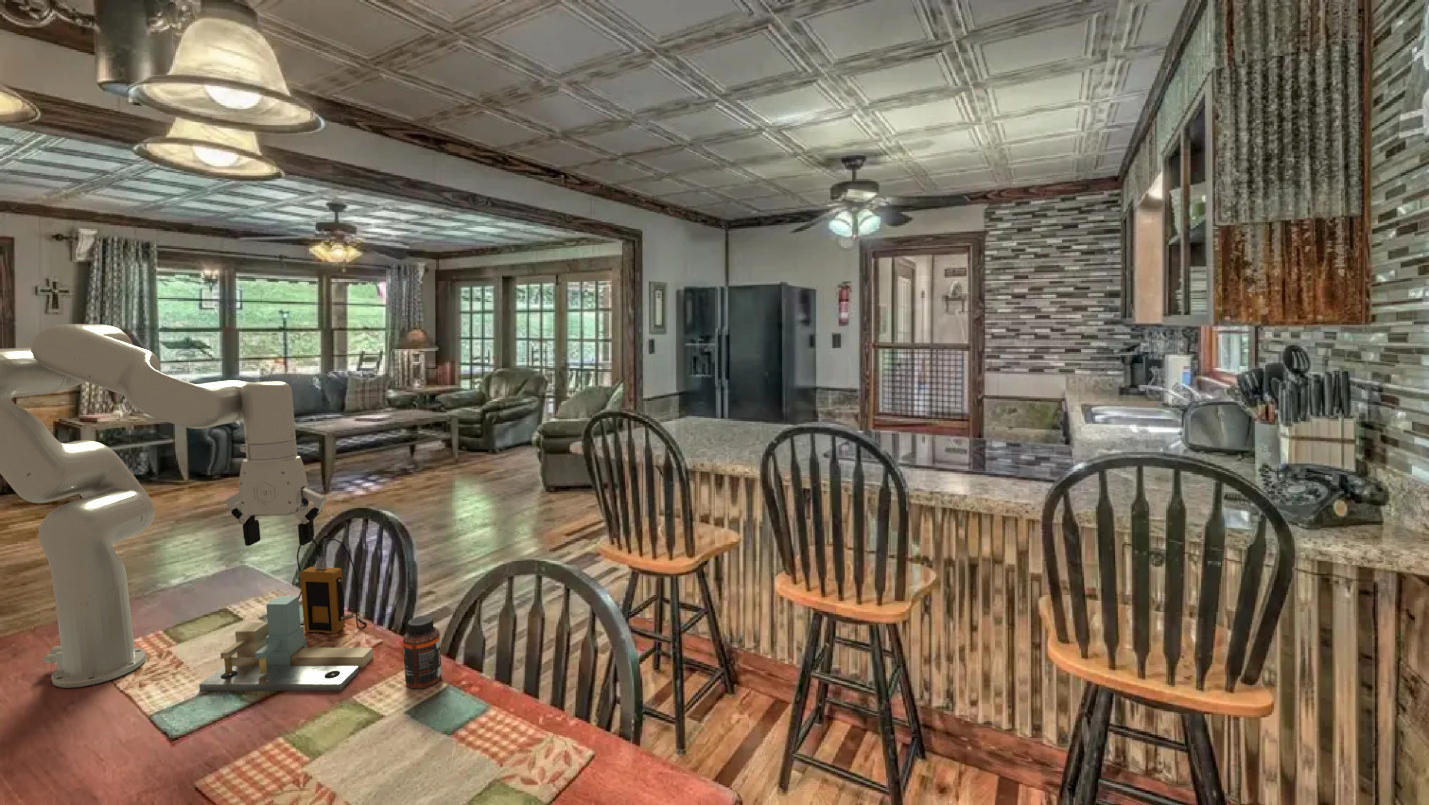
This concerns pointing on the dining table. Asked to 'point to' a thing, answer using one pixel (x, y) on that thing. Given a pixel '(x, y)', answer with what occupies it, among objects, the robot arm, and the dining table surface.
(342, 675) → the flange plate
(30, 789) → the dining table surface
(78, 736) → the dining table surface
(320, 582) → the multimeter
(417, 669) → the supplement bottle
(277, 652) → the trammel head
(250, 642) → the trammel rail
